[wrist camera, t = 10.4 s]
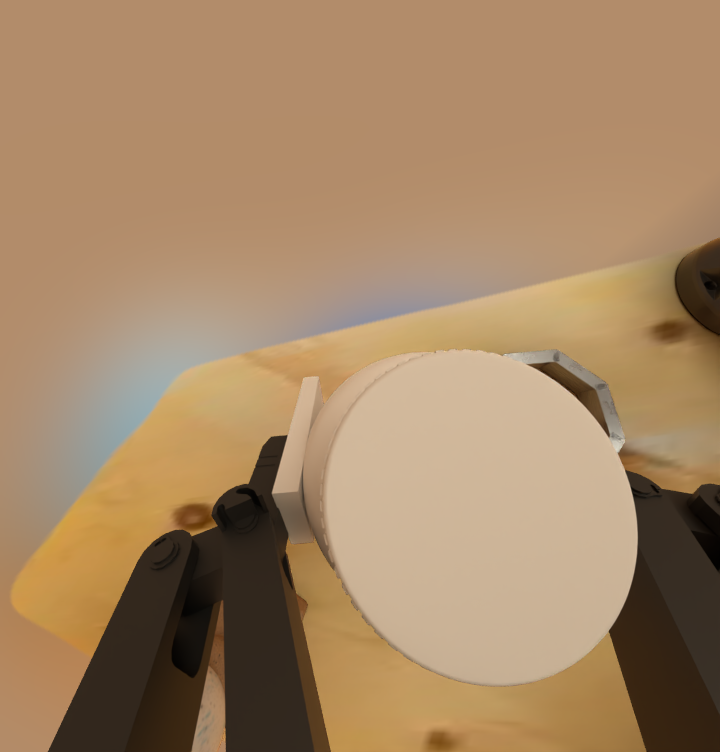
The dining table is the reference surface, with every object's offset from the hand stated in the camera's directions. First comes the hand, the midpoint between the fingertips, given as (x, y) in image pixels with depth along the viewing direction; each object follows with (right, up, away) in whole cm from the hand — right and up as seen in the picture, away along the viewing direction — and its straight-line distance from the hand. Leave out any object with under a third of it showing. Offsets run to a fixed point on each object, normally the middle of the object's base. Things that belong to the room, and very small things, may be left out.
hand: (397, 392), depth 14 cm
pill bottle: (0, -5, +5) cm, 7 cm away
